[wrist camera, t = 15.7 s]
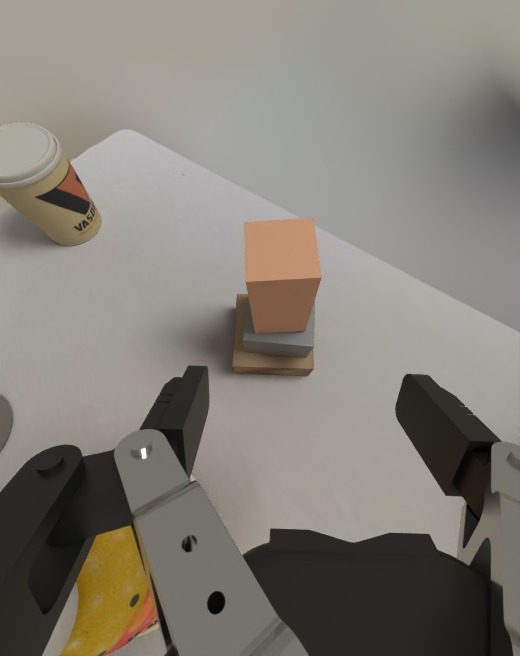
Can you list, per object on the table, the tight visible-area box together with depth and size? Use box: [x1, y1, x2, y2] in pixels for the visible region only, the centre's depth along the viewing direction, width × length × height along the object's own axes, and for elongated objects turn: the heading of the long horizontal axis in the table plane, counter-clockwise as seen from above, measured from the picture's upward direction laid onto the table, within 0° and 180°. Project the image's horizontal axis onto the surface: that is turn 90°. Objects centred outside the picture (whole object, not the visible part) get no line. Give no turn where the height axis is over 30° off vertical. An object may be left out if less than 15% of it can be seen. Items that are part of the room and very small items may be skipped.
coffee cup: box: [0, 123, 101, 246], centre depth 36 cm, size 9×9×12 cm
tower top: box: [243, 297, 315, 358], centre depth 31 cm, size 7×7×4 cm
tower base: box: [232, 294, 314, 376], centre depth 34 cm, size 9×9×4 cm
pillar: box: [244, 218, 321, 334], centre depth 24 cm, size 5×5×10 cm
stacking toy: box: [42, 474, 197, 656], centre depth 19 cm, size 14×14×20 cm
